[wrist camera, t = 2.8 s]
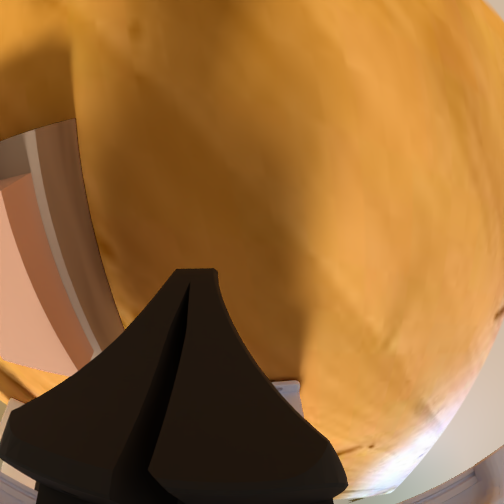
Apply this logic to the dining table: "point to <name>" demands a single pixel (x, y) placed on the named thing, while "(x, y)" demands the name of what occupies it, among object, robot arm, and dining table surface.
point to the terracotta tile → (34, 290)
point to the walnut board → (66, 223)
